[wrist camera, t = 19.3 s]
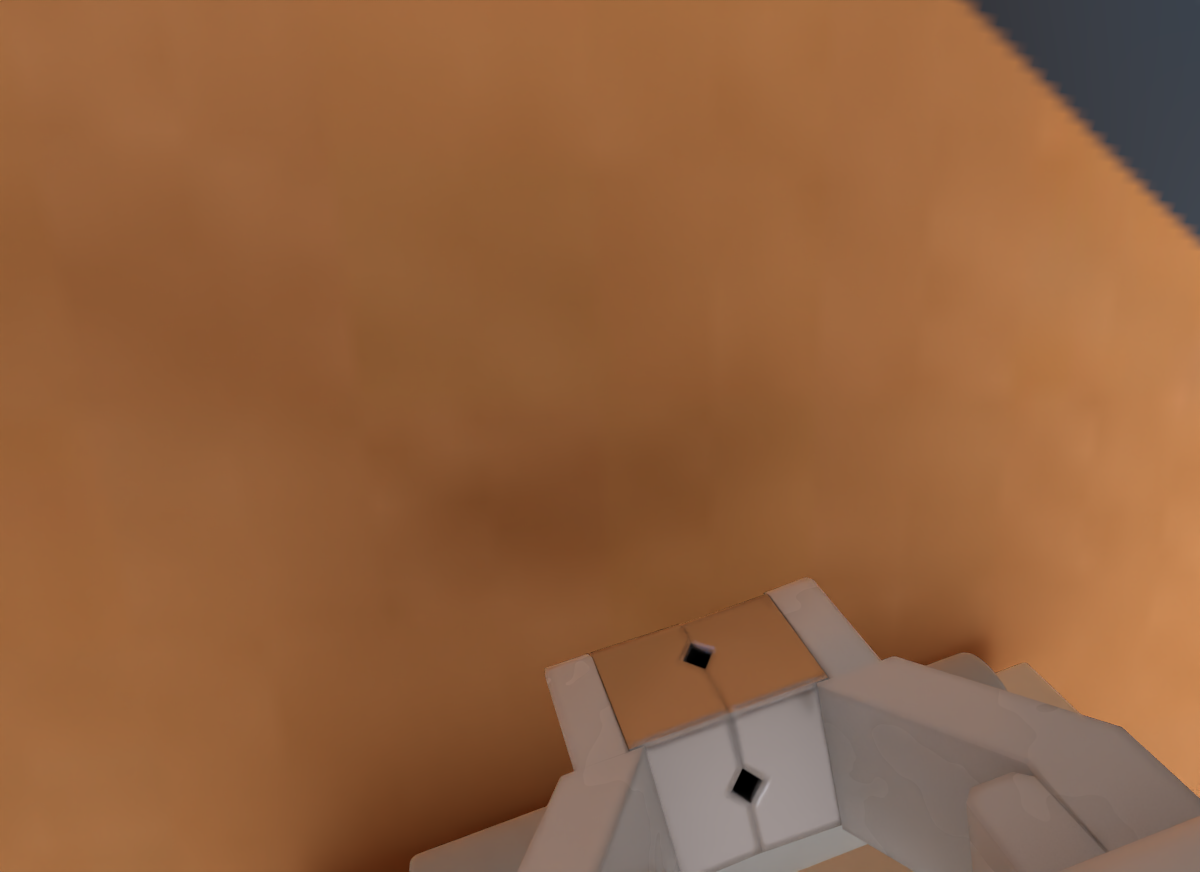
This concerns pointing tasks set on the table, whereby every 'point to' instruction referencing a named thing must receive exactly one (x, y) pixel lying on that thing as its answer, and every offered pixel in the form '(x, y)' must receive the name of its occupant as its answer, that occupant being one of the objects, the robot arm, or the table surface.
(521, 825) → the drawer
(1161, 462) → the table surface
